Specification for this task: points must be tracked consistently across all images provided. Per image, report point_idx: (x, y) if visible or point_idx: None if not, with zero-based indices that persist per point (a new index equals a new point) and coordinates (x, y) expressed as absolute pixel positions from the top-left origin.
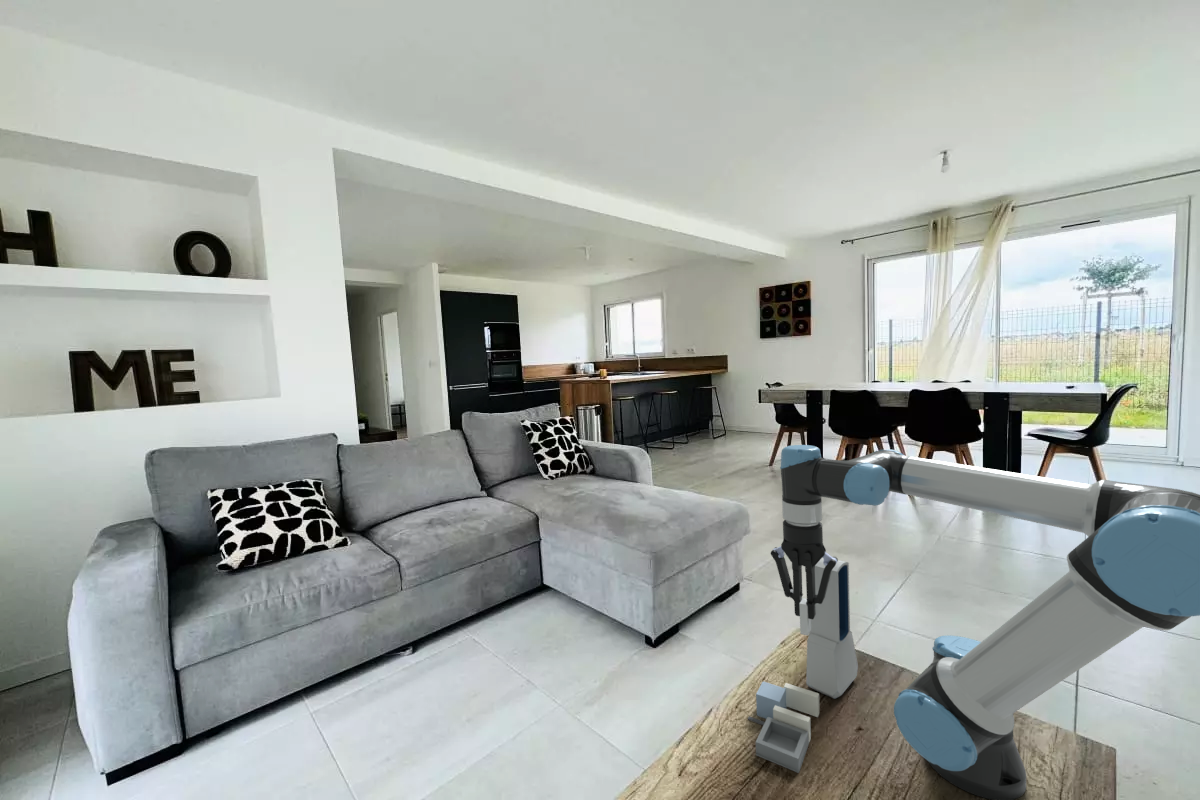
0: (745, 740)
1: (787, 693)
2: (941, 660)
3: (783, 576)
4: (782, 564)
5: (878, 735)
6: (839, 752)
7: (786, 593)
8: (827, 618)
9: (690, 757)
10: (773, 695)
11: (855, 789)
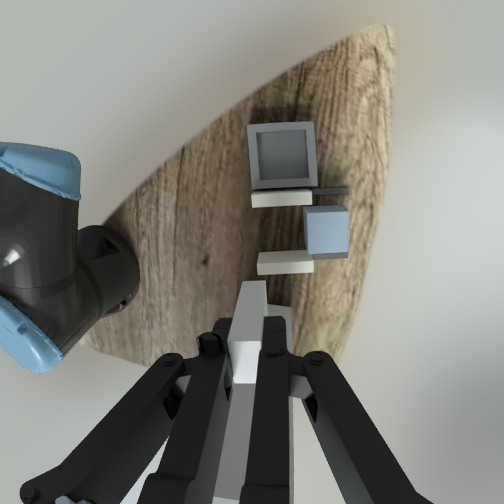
0: (334, 143)
1: (306, 257)
2: None
3: (350, 429)
4: (367, 496)
5: (182, 262)
6: (214, 199)
7: (322, 361)
8: (251, 400)
9: (380, 78)
10: (321, 223)
11: (182, 148)
